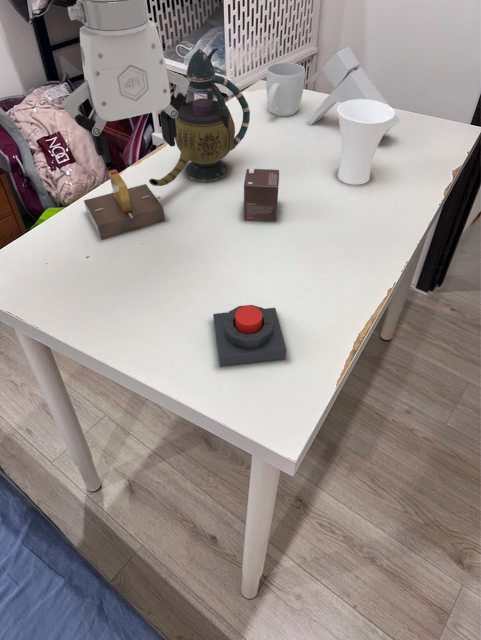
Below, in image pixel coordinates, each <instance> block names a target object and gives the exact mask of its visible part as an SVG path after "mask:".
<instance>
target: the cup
mask: <svg viewBox="0 0 481 640" xmlns="http://www.w3.org/2000/svg"><path fill="white" fill-rule="evenodd" d="M395 114H396V112H395V110H394V108H393V107H392V106H390V104H389V105H387V104H385V103H382V102H379V101H375V100H368V99H355V100H349V101H346V102H343V103H340V104H338V107H337V116H338V123H339V130H340V138H341V156H340V163H339V167H338V171H337V178H338V179H339V180H340V181H341V182H343V183H345V184H348V185H352V186H353V185H354V186H357V185H359V186H360V185H364V184H366V183H367V182H369V180H370V178H371V169H372V164H373V160H374V157H375V154H376V151H377V150H378V146H379V144H380V142H382V139H383V137H384V135H385V134H386V132H385V131H386V130H387V128H388V126H389V124H390V123H391V121H392V119H393V117H394V115H395Z"/></svg>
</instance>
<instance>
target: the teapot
mask: <svg viewBox="0 0 481 640" xmlns="http://www.w3.org/2000/svg"><path fill="white" fill-rule="evenodd" d="M218 50H219V48H213V49H212V50H211V51H210V52H209V54H208V55H207V53H206V52H205V51H203V50H202V49H200V48H198V49H197V50H196V51H195V52H194V53H193V54H192V56H191V57H190V59H189V62H188V65H187V68H186V69H187V70H186V78H187V79H188V80H189V81H190V84H189V87H190V86H191V87H192V89H194V90H197V91H205V90H206V98H204V97H203V98H202V97H201V98H196V99H194V100H190V101H187V98H188V96H187V95H188V90H189V89H188V90H187V93H186V94H185V101H184V103H183V104H182V106H181V107H180V109H179V110H178V115H177V117H176V118H175V123H176V132H177V137H175V145H176V147H177V148H178V150H179V151H180V155H179V158H178V160H177V163H176V164H175V166H174V168H173V169H172V170H171V171H170V172H169V173H167V174H166V175H165V176H164V177H162V178H160V179H156V178H150V179H149V180H148V183H149V184H150V185H152V186H154V187H163V186H166V185H169V184H170V183H172V182H173V181H175V180H176V179H177V177H178V176H179V175H180V173H182V171H183V170H184V173H185V176H186V177H187V178H188V179H189V180H191V181H194V182H197V183H207V184H208V183H214V182H215V183H216V182H219V181H221V180H223V179H224V178H226V176H228V174H229V166H228V164H226V163H225V162H224V161H222V160H223V159H224V158H225V157H226V156H228V155H229V153H230V152H231V151H233V150H234V149H236V147H237V146H238V145H239V144H240V143H241V141H242V140H243V139H244V138H245V136H246V133H247V131H248V128H249V125H250V119H251V118H250V117H251V111H250V107H249V103H248V102H247V100H246V98H245V96H244V94H243V93H242V91H241V90H240V89H239V87H238V86H237V85H235V83H233V82H232V81H231V80H229V79H228V78H226V77H224V76H223V75H218V74H216V71H215V68H214V65H213V63H212V57H213V55H214V54H215V53H216V52H217V51H218ZM217 85H221V86H223V87H225V88H227V90H228V91H230V92H231V93H232V94H233V95H234V97H235V98H236V100H237V101H238V103H239V105H240V107H241V111H242V122H241V125H240V128H239V131H238V133H237V134H236V125H235V122H234V119H233V116H232V113H231V112H230V109H229V107H228V105H227V104H226V100H225V96H223V94H222V92H221V90H220V88H219V86H217ZM214 97H215V98H216V100H214ZM189 162H190V163H189ZM184 168H185V169H184Z"/></svg>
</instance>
